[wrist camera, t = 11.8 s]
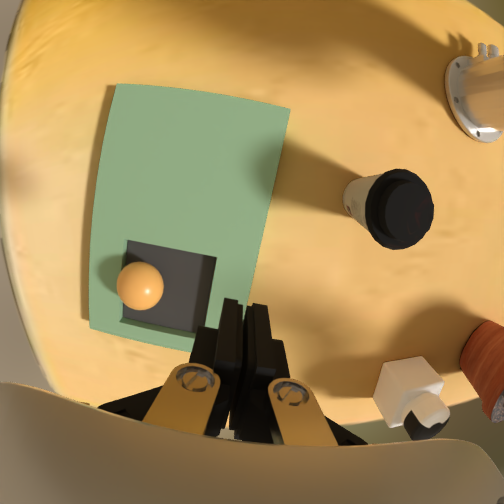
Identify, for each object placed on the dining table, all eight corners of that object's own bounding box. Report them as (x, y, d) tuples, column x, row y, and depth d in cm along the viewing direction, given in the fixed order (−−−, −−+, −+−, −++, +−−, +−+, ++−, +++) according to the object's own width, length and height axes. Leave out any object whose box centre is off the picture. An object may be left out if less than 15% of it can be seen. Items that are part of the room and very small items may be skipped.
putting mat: (121, 86, 26) (116, 83, 25) (288, 111, 28) (290, 109, 27) (94, 322, 33) (89, 328, 32) (233, 352, 35) (234, 359, 34)
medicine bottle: (409, 390, 40) (443, 439, 28) (371, 398, 39) (401, 453, 28) (422, 354, 38) (464, 402, 26) (382, 361, 37) (421, 417, 26)
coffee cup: (327, 225, 32) (364, 250, 22) (336, 161, 30) (379, 160, 20) (382, 233, 32) (432, 258, 23) (392, 174, 30) (446, 179, 21)
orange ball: (131, 280, 33) (110, 257, 29) (170, 272, 33) (152, 247, 29) (129, 320, 30) (105, 301, 26) (171, 313, 30) (151, 293, 26)
